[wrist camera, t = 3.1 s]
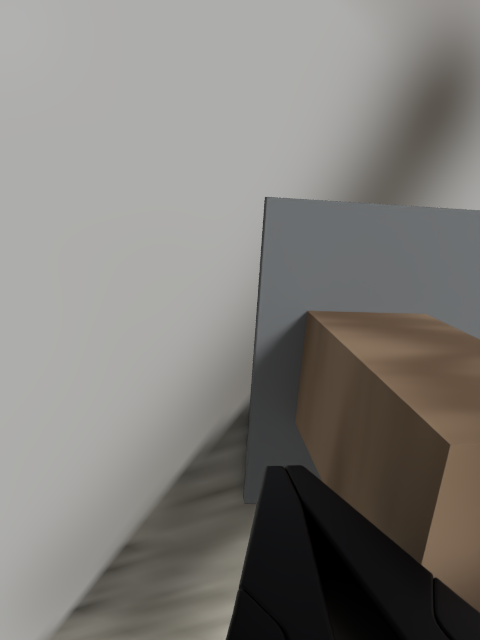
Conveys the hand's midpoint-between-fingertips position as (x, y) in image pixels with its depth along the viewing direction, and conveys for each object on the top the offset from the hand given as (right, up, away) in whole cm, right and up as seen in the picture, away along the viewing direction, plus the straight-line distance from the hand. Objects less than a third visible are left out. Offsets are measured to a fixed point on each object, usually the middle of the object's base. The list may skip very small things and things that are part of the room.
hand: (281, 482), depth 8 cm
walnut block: (+4, +2, +6) cm, 7 cm away
